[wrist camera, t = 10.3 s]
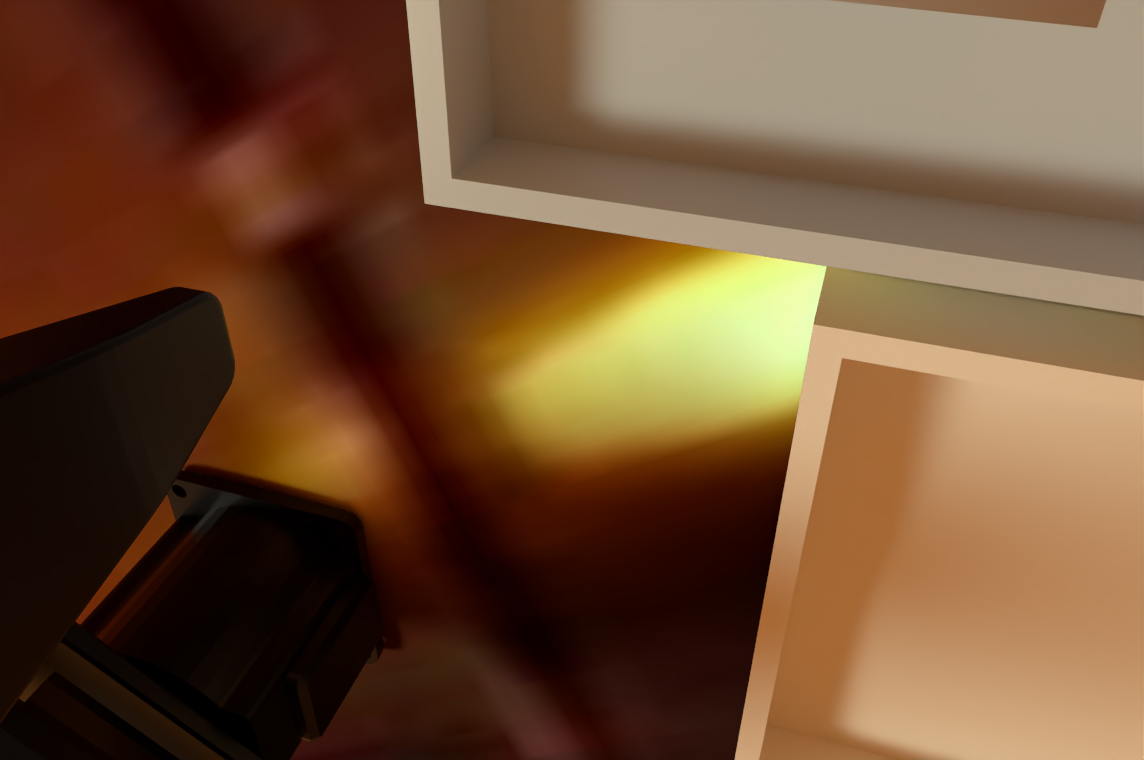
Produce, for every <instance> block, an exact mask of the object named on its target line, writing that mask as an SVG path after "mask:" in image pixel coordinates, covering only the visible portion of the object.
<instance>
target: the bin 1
mask: <svg viewBox="0 0 1144 760" xmlns="http://www.w3.org/2000/svg"><path fill="white" fill-rule="evenodd" d="M406 5H407V16H408V27H409V37H410V48H411V59H412V70H413V81H414V92H415V103H416V114H417V125H418V136H419V146H420V157H421V168H422V179H423V190H424V201H425V204H431V205H438V206H444V207H451V208H457V209H463V210H470V211H476V212H483V213H489V214H495V215H502V216H508V217H515V218H521V219H527V220H534V221H540V222H547V223H553V224H560V225H566V226H572V227H579V228H585V229H592V230H598V231H604V232H611V233H617V234H624V235H630V236H636V237H643V238H649V239H656V240H662V241H669V242H675V243H681V244H688V245H694V246H701V247H707V248H713V249H720V250H726V251H733V252H739V253H745V254H752V255H758V256H765V257H771V258H778V259H784V260H790V261H797V262H803V263H810V264H816V265H822V266H829V267H835V268H842V269H848V270H854V271H861V272H867V273H874V274H880V275H887V276H893V277H899V278H906V279H912V280H919V281H925V282H931V283H938V284H944V285H951V286H957V287H963V288H970V289H976V290H983V291H989V292H996V293H1002V294H1008V295H1015V296H1021V297H1028V298H1034V299H1040V300H1047V301H1053V302H1060V303H1066V304H1072V305H1079V306H1085V307H1092V308H1098V309H1105V310H1111V311H1117V312H1124V313H1130V314H1137V315H1143V316H1144V0H1106V3H1105V6H1104V9H1103V12H1102V15H1101V18H1100V21H1099V24H1098V27H1097V28H1090V27H1081V26H1071V25H1062V24H1052V23H1042V22H1033V21H1023V20H1014V19H1004V18H994V17H985V16H975V15H965V14H956V13H946V12H937V11H927V10H917V9H908V8H898V7H889V6H879V5H869V4H860V3H850V2H841V1H831V0H406Z"/></svg>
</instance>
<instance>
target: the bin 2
mask: <svg viewBox="0 0 1144 760" xmlns="http://www.w3.org/2000/svg"><path fill="white" fill-rule="evenodd" d="M735 760H1144V316H1143V315H1137V314H1130V313H1124V312H1117V311H1111V310H1105V309H1098V308H1092V307H1085V306H1079V305H1072V304H1066V303H1060V302H1053V301H1047V300H1040V299H1034V298H1028V297H1021V296H1015V295H1008V294H1002V293H996V292H989V291H983V290H976V289H970V288H963V287H957V286H951V285H944V284H938V283H931V282H925V281H919V280H912V279H906V278H899V277H893V276H887V275H880V274H874V273H867V272H861V271H854V270H848V269H842V268H835V267H829V266H827V268H826V273H825V277H824V281H823V286H822V290H821V294H820V299H819V303H818V307H817V312H816V316H815V321H814V325H813V331H812V336H811V342H810V347H809V353H808V358H807V364H806V369H805V375H804V380H803V386H802V391H801V397H800V402H799V408H798V413H797V419H796V424H795V430H794V435H793V441H792V446H791V452H790V458H789V463H788V469H787V474H786V480H785V485H784V491H783V496H782V502H781V507H780V513H779V518H778V524H777V529H776V535H775V540H774V546H773V551H772V557H771V562H770V568H769V574H768V579H767V585H766V590H765V596H764V601H763V607H762V612H761V618H760V623H759V629H758V634H757V640H756V645H755V651H754V656H753V662H752V667H751V673H750V678H749V684H748V689H747V695H746V701H745V706H744V712H743V717H742V723H741V728H740V734H739V739H738V745H737V750H736V756H735Z"/></svg>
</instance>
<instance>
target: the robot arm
mask: <svg viewBox="0 0 1144 760" xmlns="http://www.w3.org/2000/svg"><path fill="white" fill-rule="evenodd" d="M234 372H235V359H234V354H233V350H232V346H231V342H230V338H229V333H228V329H227V325H226V321H225V317H224V313H223V309H222V306H221V303H220V302H219V300H218V299H217V297H216V296H215V295H213V294H212V293H210V292H206V291H200V290H194V289H189V288H183V287H173V288H169V289H165V290H162V291H158V292H155V293H152V294H148V295H145V296H142V297H138V298H135V299H132V300H128V301H125V302H122V303H118V304H115V305H112V306H108V307H105V308H102V309H98V310H95V311H91V312H88V313H85V314H81V315H78V316H75V317H71V318H68V319H65V320H61V321H58V322H55V323H51V324H48V325H45V326H41V327H38V328H35V329H31V330H28V331H24V332H21V333H18V334H14V335H11V336H8V337H4V338H1V339H0V760H290V758H291V757H292V755H293V753H294V752H295V750H296V749H297V747H298V745H299V744H300V742H301V740H302V739H304V740H307V741H310V742H313V741H315V740H316V739H318V738H320V737H321V736H322V735H323V733H324V731H325V730H326V728H327V726H328V725H329V723H330V721H331V720H332V718H333V716H334V715H335V713H336V711H337V710H338V708H339V706H340V705H341V703H342V701H343V700H344V698H345V696H346V695H347V693H348V691H349V690H350V688H351V686H352V685H353V683H354V681H355V680H356V678H357V677H358V675H359V673H360V672H361V670H362V668H363V667H364V665H365V663H367V664H373V663H375V662H377V660H378V659H379V657H380V655H381V654H382V652H383V643H382V637H381V636H382V627H381V621H380V615H379V609H378V603H377V597H376V591H375V585H374V582H373V580H372V578H371V572H370V566H369V560H368V554H367V549H366V543H365V537H364V531H363V526H362V523H361V521H360V520H359V519H358V518H357V517H356V516H355V515H354V514H352V513H351V512H348V511H346V510H342V509H338V508H333V507H329V506H325V505H321V504H317V503H313V502H309V501H305V500H301V499H297V498H293V497H289V496H285V495H281V494H277V493H272V492H268V491H264V490H260V489H256V488H252V487H248V486H244V485H240V484H236V483H232V482H228V481H224V480H220V479H215V478H211V477H207V476H203V475H199V474H195V473H191V472H187V471H182V468H183V466H184V465H185V463H186V461H187V460H188V458H189V456H190V454H191V453H192V451H193V449H194V448H195V446H196V444H197V442H198V441H199V439H200V437H201V436H202V434H203V432H204V430H205V429H206V427H207V425H208V424H209V422H210V420H211V418H212V417H213V415H214V413H215V412H216V410H217V408H218V406H219V405H220V403H221V401H222V400H223V398H224V396H225V394H226V393H227V391H228V389H229V388H230V386H231V383H232V380H233V377H234ZM166 495H168V498H169V501H170V504H171V507H172V510H173V513H174V516H175V519H176V521H175V522H174V524H173V525H172V526H171V527H170V528H169V529H168V530H167V531H166V532H165V533H164V534H163V535H162V537H161V538H160V539H159V540H158V541H157V542H156V543H155V544H154V545H153V546H152V547H151V548H150V550H149V551H148V552H147V553H146V554H145V555H144V556H143V557H142V558H141V559H140V560H139V561H138V563H137V564H136V565H135V566H134V567H133V568H132V569H131V570H130V571H129V572H128V573H127V574H126V576H125V577H124V578H123V579H122V580H121V581H120V582H119V583H118V584H117V585H116V586H115V588H114V589H113V590H112V591H111V592H110V593H109V594H108V595H107V596H106V597H105V598H104V599H103V601H102V602H101V603H100V604H99V605H98V606H97V607H96V608H95V609H94V610H93V611H92V612H91V614H90V615H89V616H88V617H87V618H86V619H85V620H84V621H83V622H82V623H81V624H80V625H79V624H78V623H77V622H75V621H76V619H77V618H78V617H79V615H80V614H81V613H82V611H83V610H84V609H85V607H86V606H87V604H88V603H89V602H90V600H91V599H92V598H93V596H94V595H95V594H96V592H97V591H98V589H99V588H100V587H101V585H102V584H103V583H104V581H105V580H106V579H107V577H108V576H109V574H110V573H111V572H112V570H113V569H114V568H115V566H116V565H117V564H118V562H119V561H120V559H121V558H122V557H123V555H124V554H125V553H126V551H127V550H128V549H129V547H130V546H131V544H132V543H133V542H134V540H135V539H136V538H137V536H138V535H139V533H140V532H141V531H142V529H143V528H144V527H145V525H146V524H147V523H148V521H149V520H150V518H151V517H152V516H153V514H154V513H155V511H156V510H157V508H158V507H159V505H160V504H161V503H162V501H163V500H164V498H165V496H166Z"/></svg>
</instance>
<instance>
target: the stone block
mask: <svg viewBox="0 0 1144 760" xmlns="http://www.w3.org/2000/svg"><path fill="white" fill-rule="evenodd" d="M831 1H841V2H850V3H860V4H869V5H879V6H889V7H898V8H908V9H917V10H927V11H937V12H946V13H956V14H965V15H975V16H985V17H994V18H1004V19H1014V20H1023V21H1033V22H1042V23H1052V24H1062V25H1071V26H1081V27H1090V28H1097V27H1098V24H1099V21H1100V18H1101V15H1102V12H1103V9H1104V6H1105V3H1106V0H831Z"/></svg>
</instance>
